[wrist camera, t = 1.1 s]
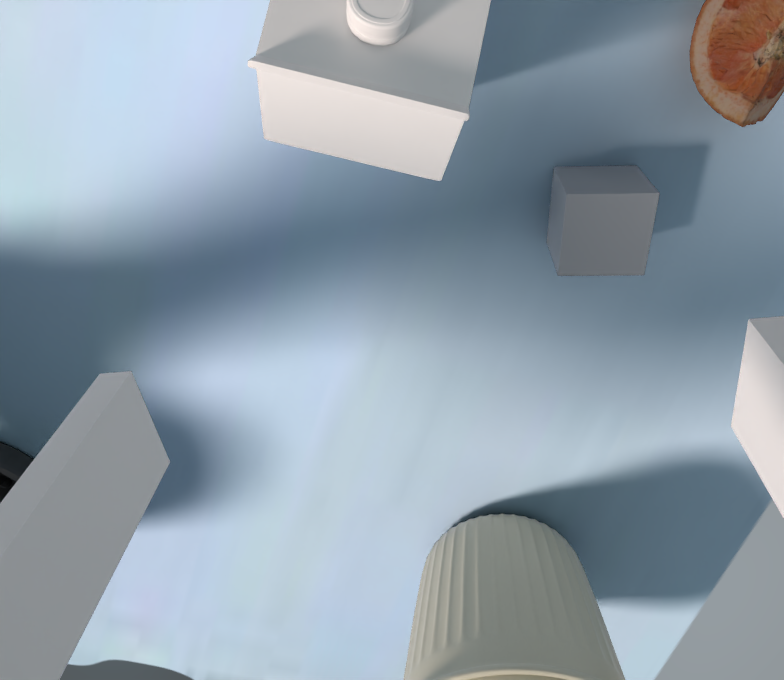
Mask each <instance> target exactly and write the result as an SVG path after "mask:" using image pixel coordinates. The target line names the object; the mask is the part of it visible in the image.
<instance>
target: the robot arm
mask: <svg viewBox="0 0 784 680" xmlns="http://www.w3.org/2000/svg"><path fill="white" fill-rule="evenodd" d="M731 427H732V429H733V431H734V432H735V434H736V436H737V438H738V439H739V441H740V443H741V445H742V446H743V448H744V450H745V452H746V453H747V455H748V457H749V459H750V460H751V462H752V464H753V466H754V467H755V469H756V471H757V473H758V474H759V476H760V478H761V480H762V481H763V483H764V485H765V487H766V488H767V490H768V492H769V494H770V495H771V497H772V499H773V501H774V502H775V504H776V506H777V508H778V509H779V511H780V513H781V515H782V517H783V518H784V316H779V317H767V318H755V319H748V325H747V331H746V337H745V343H744V349H743V356H742V362H741V368H740V374H739V380H738V386H737V392H736V398H735V405H734V411H733V417H732V423H731ZM169 464H170V460H169V458H168V456H167V453H166V451H165V449H164V446H163V444H162V442H161V439H160V437H159V435H158V432H157V430H156V428H155V425H154V423H153V421H152V418H151V416H150V414H149V411H148V409H147V407H146V404H145V402H144V400H143V397H142V395H141V393H140V390H139V388H138V386H137V383H136V381H135V379H134V376H133V374H132V371H125V372H113V373H102V374H99V375H98V377H97V378H96V379H95V380H94V382H93V383H92V384H91V386H90V387H89V388H88V390H87V391H86V392H85V393H84V395H83V396H82V397H81V399H80V400H79V401H78V403H77V404H76V405H75V407H74V408H73V409H72V410H71V412H70V413H69V414H68V416H67V417H66V418H65V420H64V421H63V422H62V423H61V425H60V426H59V427H58V429H57V430H56V431H55V433H54V434H53V435H52V437H51V438H50V439H49V440H48V442H47V443H46V444H45V446H44V447H43V448H42V450H41V451H40V452H39V453H38V455H37V456H36V457H35V459H34V460H33V459H32V458H30V457H29V456H27V455H25V454H24V453H22V452H20V451H18V450H16V449H14V448H12V447H10V446H8V445H5V444H3V443H0V680H59V679H60V677H61V675H62V673H63V671H64V669H65V668H66V666H67V664H68V662H69V660H70V658H71V656H72V654H73V652H74V650H75V648H76V646H77V644H78V642H79V640H80V638H81V636H82V634H83V632H84V630H85V628H86V626H87V624H88V622H89V620H90V619H91V617H92V615H93V613H94V611H95V609H96V607H97V605H98V603H99V601H100V599H101V597H102V595H103V593H104V591H105V589H106V587H107V585H108V583H109V581H110V579H111V577H112V575H113V573H114V571H115V569H116V568H117V566H118V564H119V562H120V560H121V558H122V556H123V554H124V552H125V550H126V548H127V546H128V544H129V542H130V540H131V538H132V536H133V534H134V532H135V530H136V528H137V526H138V524H139V522H140V520H141V518H142V517H143V515H144V513H145V511H146V509H147V507H148V505H149V503H150V501H151V499H152V497H153V495H154V493H155V491H156V489H157V487H158V485H159V483H160V481H161V479H162V477H163V475H164V473H165V471H166V469H167V467H168V466H169Z"/></svg>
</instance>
